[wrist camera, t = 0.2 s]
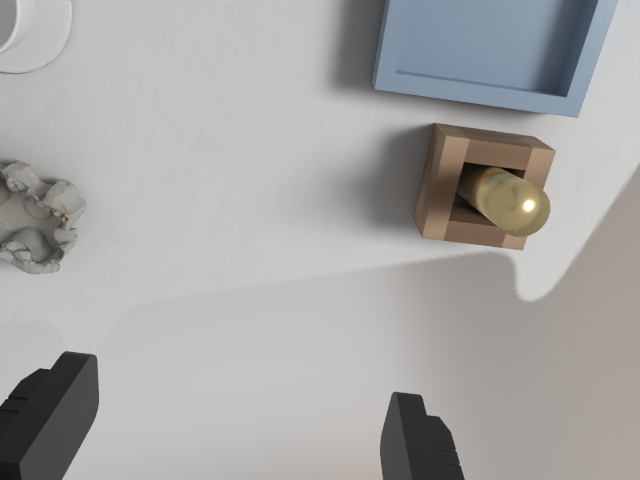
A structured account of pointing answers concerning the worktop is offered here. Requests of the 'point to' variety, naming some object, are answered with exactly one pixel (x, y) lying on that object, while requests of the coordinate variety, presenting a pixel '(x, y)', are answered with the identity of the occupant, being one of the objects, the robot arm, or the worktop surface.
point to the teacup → (32, 33)
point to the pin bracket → (444, 172)
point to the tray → (493, 51)
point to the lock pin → (504, 198)
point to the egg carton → (36, 219)
